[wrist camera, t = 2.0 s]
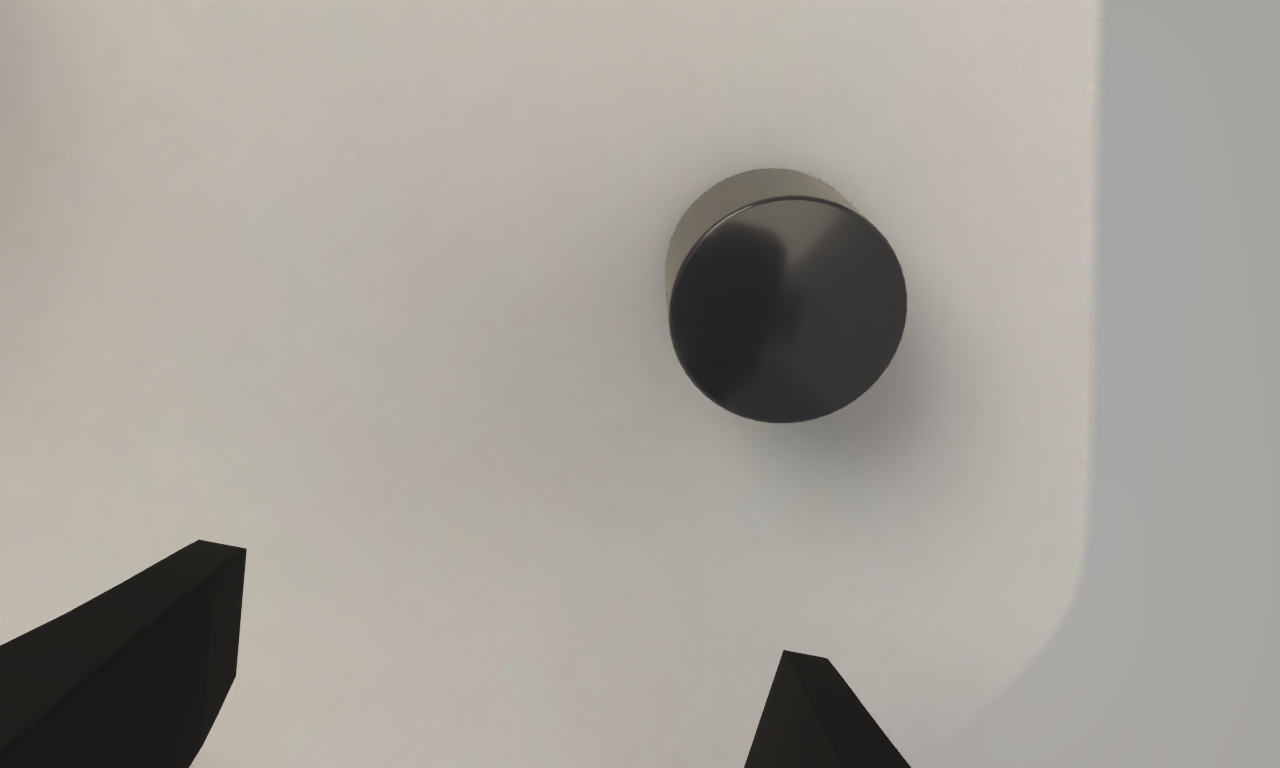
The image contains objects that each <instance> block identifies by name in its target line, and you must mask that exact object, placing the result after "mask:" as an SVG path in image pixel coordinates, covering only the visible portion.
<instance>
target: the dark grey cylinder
mask: <svg viewBox="0 0 1280 768" xmlns="http://www.w3.org/2000/svg"><path fill="white" fill-rule="evenodd" d="M665 282H666V294H667V305H668V316H669V327H670V335H671V339H672V343H673V347H674V350H675V353H676V355H677V358H678V360H679V362H680V364H681V366H682V368H683V369H684V371H685V373H686V374H687V376H688V377H689V378H690V380H691V381H692V382H693V384H694V385H695V386H696V387H697V388H698V389H699V390H700V391H701V392H702V393H703V394H704V395H705V396H706V397H708V398H709V399H710V400H712V401H713V402H714V403H716V404H717V405H719V406H720V407H722V408H724V409H726V410H727V411H729V412H732V413H734V414H736V415H739V416H741V417H744V418H748V419H752V420H755V421H761V422H768V423H795V422H803V421H808V420H812V419H816V418H819V417H822V416H825V415H828V414H831V413H833V412H835V411H837V410H839V409H841V408H843V407H845V406H846V405H848V404H850V403H851V402H853V401H854V400H856V399H857V398H858V397H860V396H861V395H862V394H863V393H864V392H866V391H867V390H868V389H869V388H870V387H871V386H872V385H873V384H874V383H875V382H876V381H877V380H878V379H879V377H880V376H881V375H882V373H883V372H884V371H885V369H886V368H887V367H888V365H889V363H890V362H891V360H892V358H893V356H894V355H895V353H896V350H897V348H898V346H899V343H900V341H901V338H902V334H903V331H904V327H905V322H906V314H907V291H906V284H905V279H904V275H903V272H902V268H901V265H900V263H899V261H898V259H897V256H896V254H895V252H894V250H893V249H892V247H891V246H890V244H889V243H888V241H887V240H886V238H885V237H884V236H883V235H882V234H881V233H880V231H879V230H878V229H877V228H876V227H875V226H874V225H873V224H872V223H871V222H870V221H869V220H867V219H866V218H865V217H864V216H863V215H862V214H861V213H860V212H859V211H858V210H857V209H856V208H854V207H853V206H852V205H851V204H850V203H849V202H848V201H847V200H846V199H845V198H844V197H842V196H841V195H840V194H839V193H838V192H837V191H836V190H834V189H833V188H832V187H830V186H829V185H827V184H826V183H824V182H822V181H821V180H819V179H816V178H814V177H812V176H810V175H807V174H804V173H800V172H797V171H792V170H785V169H761V170H753V171H749V172H745V173H741V174H738V175H735V176H733V177H730V178H728V179H726V180H724V181H722V182H720V183H718V184H717V185H715V186H713V187H712V188H711V189H709V190H708V191H706V192H705V193H704V194H703V195H702V196H700V197H699V198H698V199H697V200H696V201H695V202H694V203H693V204H692V205H691V207H690V208H689V209H688V210H687V211H686V213H685V214H684V216H683V217H682V219H681V220H680V222H679V224H678V225H677V227H676V229H675V232H674V234H673V236H672V238H671V241H670V245H669V248H668V252H667V258H666V263H665Z"/></svg>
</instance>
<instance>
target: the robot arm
mask: <svg viewBox="0 0 1280 768" xmlns="http://www.w3.org/2000/svg"><path fill="white" fill-rule="evenodd" d="M245 561H246V549H245V548H240V547H235V546H229V545H224V544H219V543H214V542H208V541H203V540H198V541H196V542H194V543H192V544H190V545H188V546H186V547H184V548H183V549H181V550H179V551H177V552H175V553H174V554H172V555H170V556H168V557H167V558H165V559H163V560H161V561H159V562H158V563H156V564H154V565H152V566H151V567H149V568H147V569H145V570H144V571H142V572H140V573H138V574H137V575H135V576H133V577H131V578H130V579H128V580H126V581H124V582H123V583H121V584H119V585H117V586H115V587H113V588H112V589H110V590H108V591H106V592H104V593H102V594H101V595H99V596H97V597H95V598H93V599H91V600H90V601H88V602H86V603H84V604H82V605H81V606H79V607H77V608H75V609H73V610H71V611H70V612H68V613H66V614H64V615H62V616H60V617H58V618H56V619H54V620H52V621H50V622H48V623H46V624H44V625H42V626H39V627H37V628H35V629H33V630H31V631H29V632H27V633H25V634H23V635H21V636H19V637H17V638H15V639H13V640H11V641H9V642H7V643H5V644H3V645H1V646H0V768H189V766H190V765H191V763H192V762H193V760H194V758H195V757H196V755H197V754H198V752H199V750H200V749H201V747H202V746H203V744H204V741H205V739H206V737H207V735H208V733H209V731H210V729H211V727H212V725H213V723H214V721H215V719H216V717H217V715H218V713H219V711H220V709H221V707H222V705H223V702H224V700H225V698H226V696H227V694H228V692H229V690H230V687H231V685H232V683H233V681H234V679H235V677H236V668H237V656H238V644H239V632H240V620H241V608H242V596H243V584H244V573H245ZM744 768H911V767H910V765H909V764H908V763H907V762H906V760H905V759H904V758H903V757H902V755H901V754H900V753H899V752H898V750H897V749H896V748H895V746H894V745H893V744H892V743H891V741H890V740H889V739H888V737H887V736H886V735H885V734H884V732H883V731H882V730H881V728H880V727H879V726H878V724H877V723H876V722H875V720H874V719H873V718H872V716H871V715H870V714H869V712H868V711H867V710H866V708H865V707H864V706H863V704H862V703H861V702H860V700H859V699H858V698H857V696H856V695H855V694H854V692H853V691H852V690H851V688H850V687H849V686H848V684H847V683H846V682H845V680H844V679H843V678H842V676H841V675H840V674H839V673H838V671H837V670H836V669H835V667H834V666H833V665H832V664H831V663H830V661H829V660H828V659H827V658H823V657H817V656H812V655H807V654H801V653H796V652H791V651H786V650H784V651H783V654H782V656H781V659H780V662H779V665H778V668H777V671H776V674H775V677H774V680H773V683H772V686H771V689H770V692H769V695H768V698H767V701H766V704H765V707H764V710H763V713H762V716H761V719H760V722H759V725H758V728H757V731H756V734H755V737H754V740H753V743H752V746H751V749H750V752H749V755H748V758H747V761H746V764H745V767H744Z"/></svg>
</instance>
